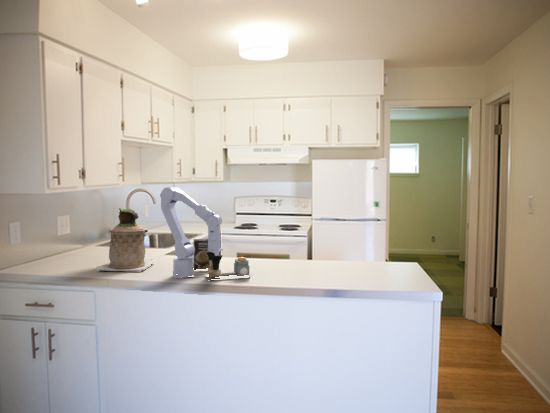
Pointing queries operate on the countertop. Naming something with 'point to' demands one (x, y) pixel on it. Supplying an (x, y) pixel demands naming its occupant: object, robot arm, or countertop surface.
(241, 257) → the button
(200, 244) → the coffee box
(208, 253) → the robot arm
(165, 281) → the countertop surface
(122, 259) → the cookie jar
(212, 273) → the carriage
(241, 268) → the blue-grey jar
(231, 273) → the rail
